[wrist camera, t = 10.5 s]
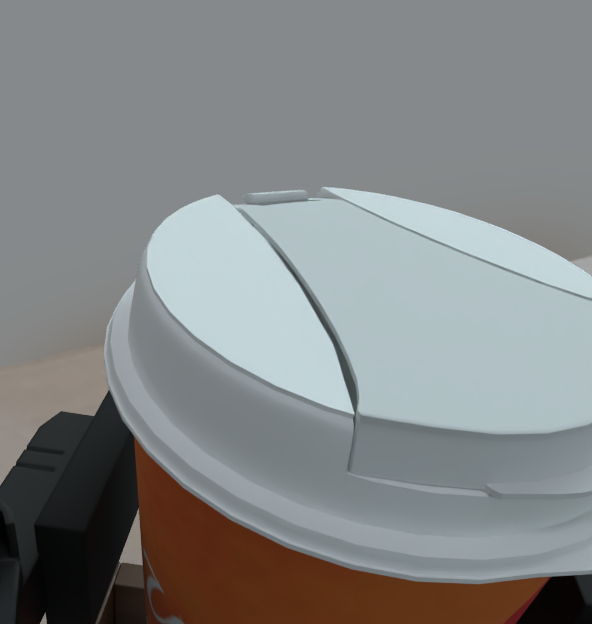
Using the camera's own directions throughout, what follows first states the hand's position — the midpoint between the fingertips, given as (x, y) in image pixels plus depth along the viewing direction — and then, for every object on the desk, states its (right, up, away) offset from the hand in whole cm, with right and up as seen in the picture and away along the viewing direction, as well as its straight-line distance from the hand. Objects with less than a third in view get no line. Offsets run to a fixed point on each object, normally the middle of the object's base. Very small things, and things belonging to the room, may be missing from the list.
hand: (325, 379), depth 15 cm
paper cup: (-2, -10, 0) cm, 10 cm away
